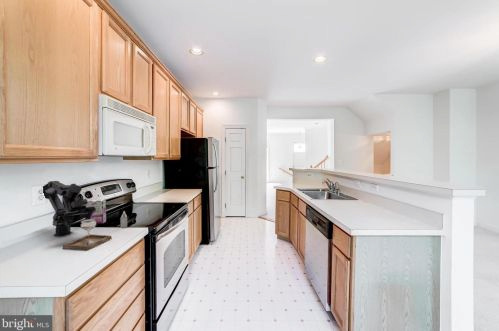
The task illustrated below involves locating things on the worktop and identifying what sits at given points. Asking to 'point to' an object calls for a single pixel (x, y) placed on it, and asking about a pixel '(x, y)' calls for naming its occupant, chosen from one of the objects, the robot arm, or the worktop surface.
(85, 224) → the wineglass
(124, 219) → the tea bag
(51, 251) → the worktop surface
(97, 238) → the tray
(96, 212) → the candy bar box
